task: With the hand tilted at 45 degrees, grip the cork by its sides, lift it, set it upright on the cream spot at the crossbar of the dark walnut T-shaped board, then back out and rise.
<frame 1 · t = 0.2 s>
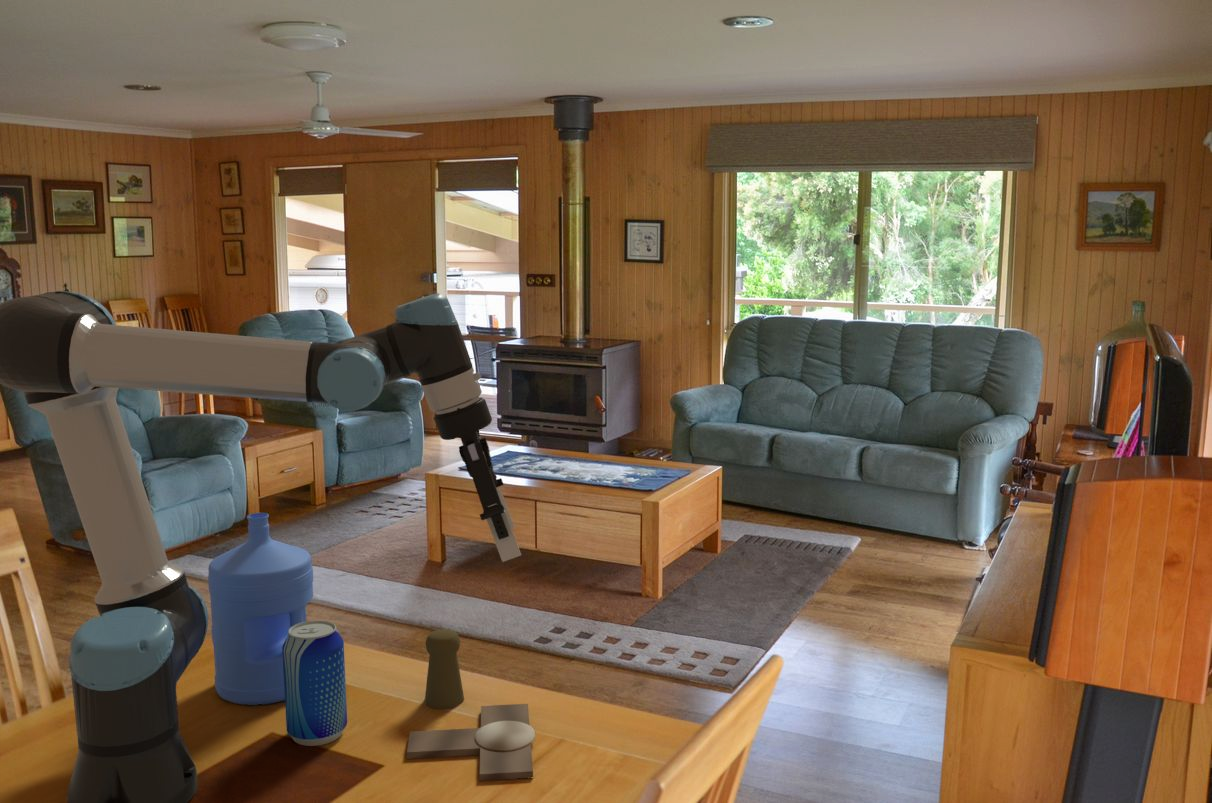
hand: (508, 544, 148), 28 cm above the table, tool tilted 20°, fingers open, 13 cm apart
walnut T board: (505, 743, 147), on the table
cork: (444, 701, 161), on the table
water jug: (267, 686, 166), on the table
beer can: (317, 735, 150), on the table
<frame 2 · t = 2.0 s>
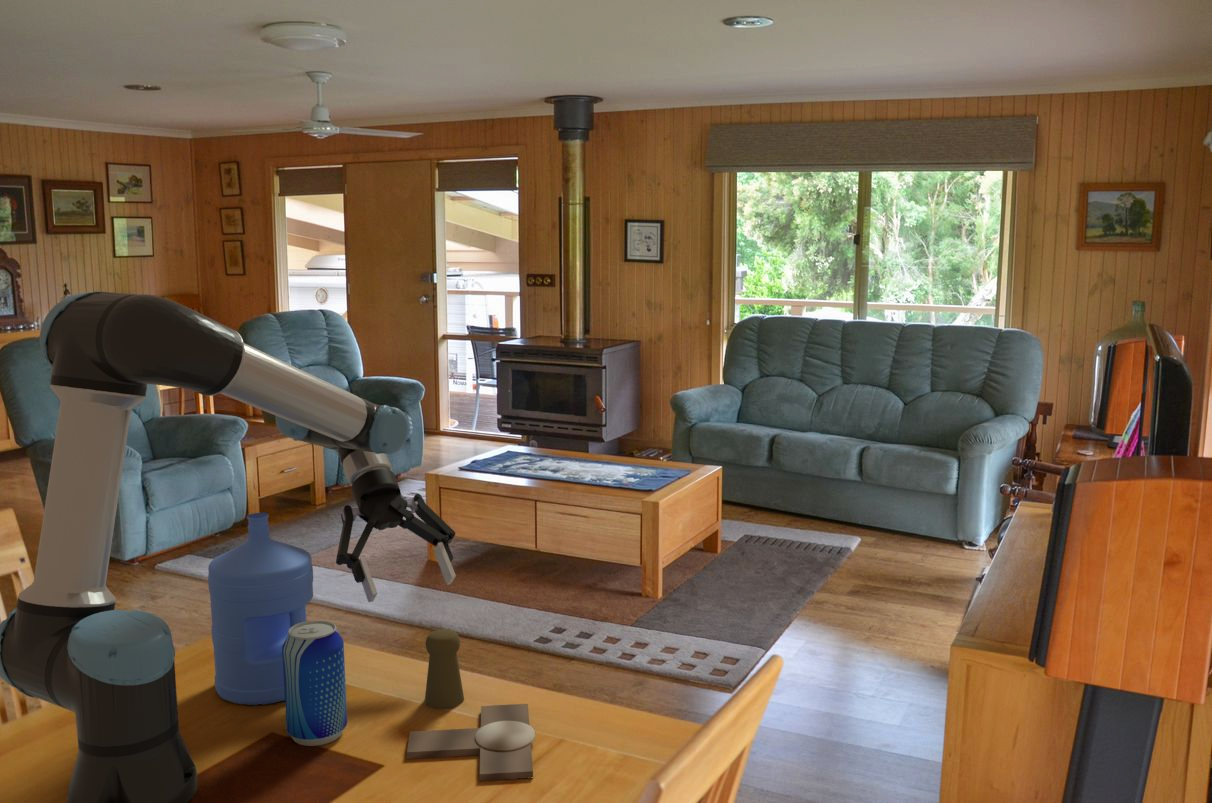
hand: (413, 589, 167), 15 cm above the table, tool tilted 45°, fingers open, 13 cm apart
nothing on the table moved.
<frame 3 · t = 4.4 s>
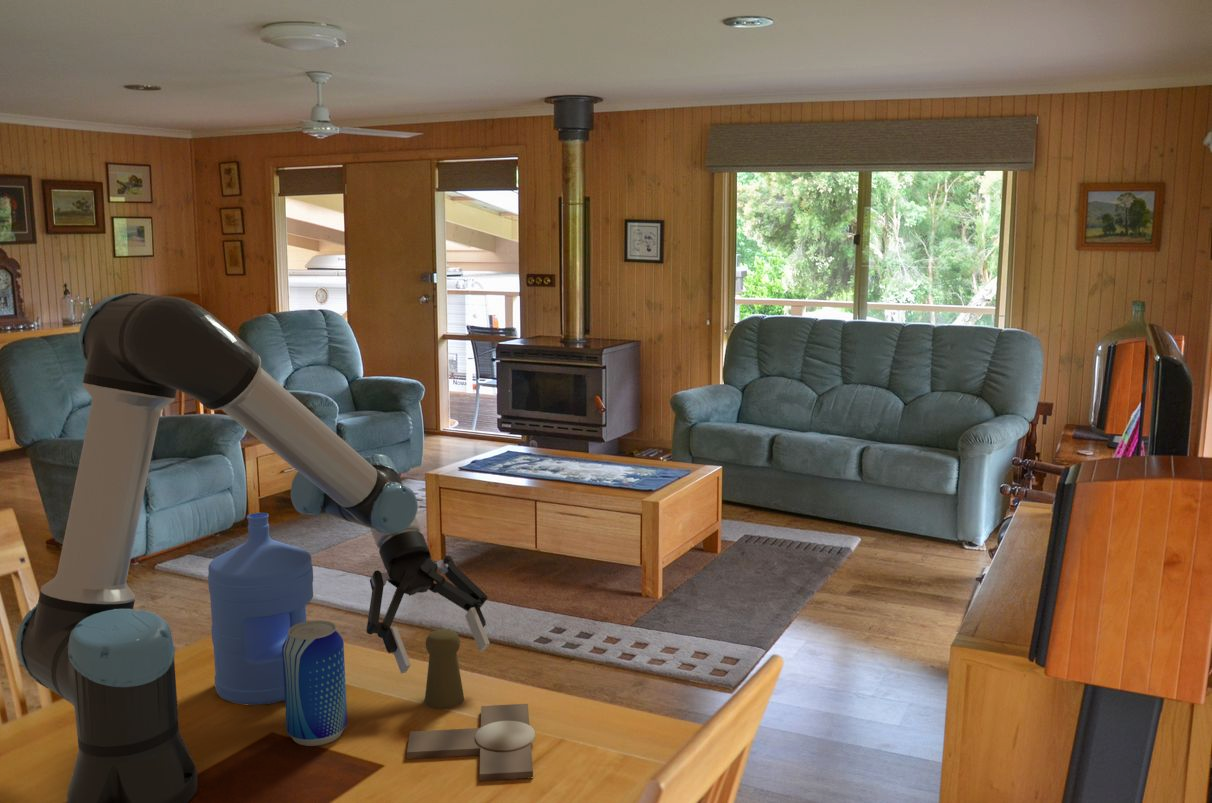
hand: (446, 658, 161), 6 cm above the table, tool tilted 45°, fingers open, 13 cm apart
nothing on the table moved.
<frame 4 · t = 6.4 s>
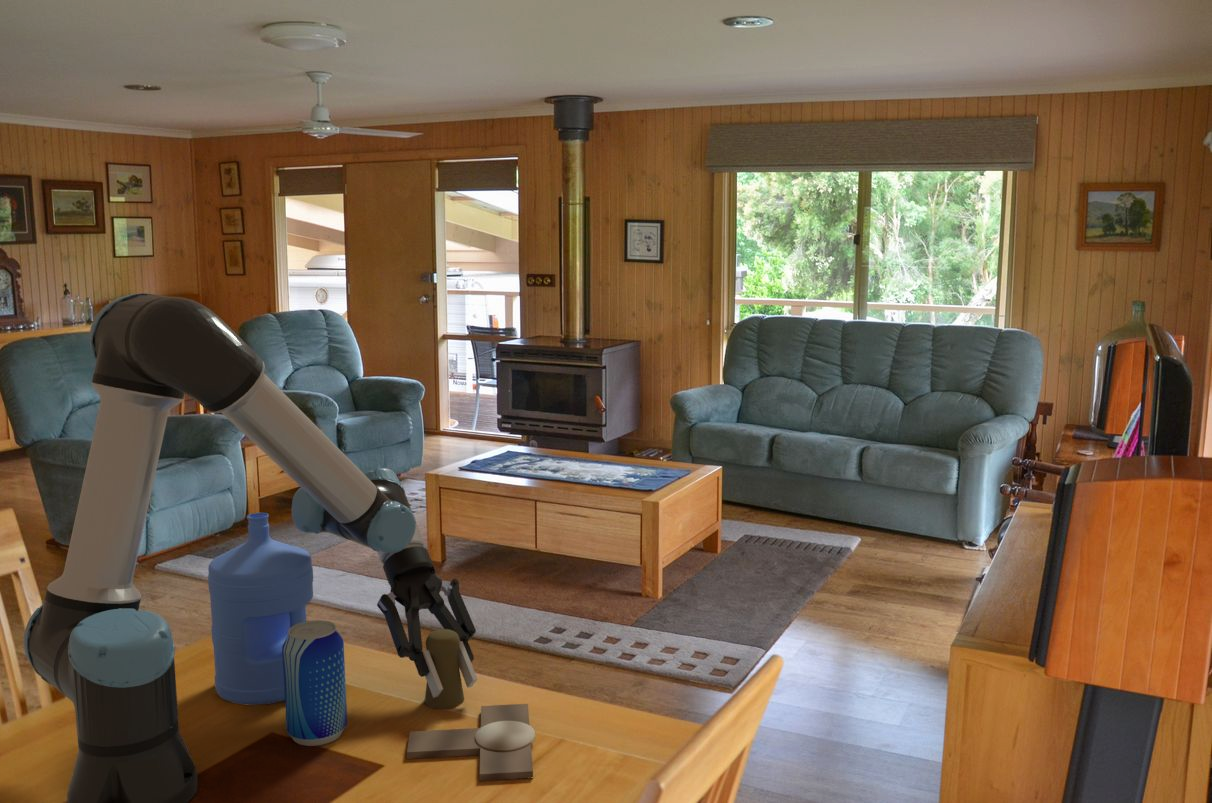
hand: (455, 688, 157), 3 cm above the table, tool tilted 45°, fingers closed on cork, 5 cm apart
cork: (444, 701, 161), on the table, touching gripper
everything else where it was.
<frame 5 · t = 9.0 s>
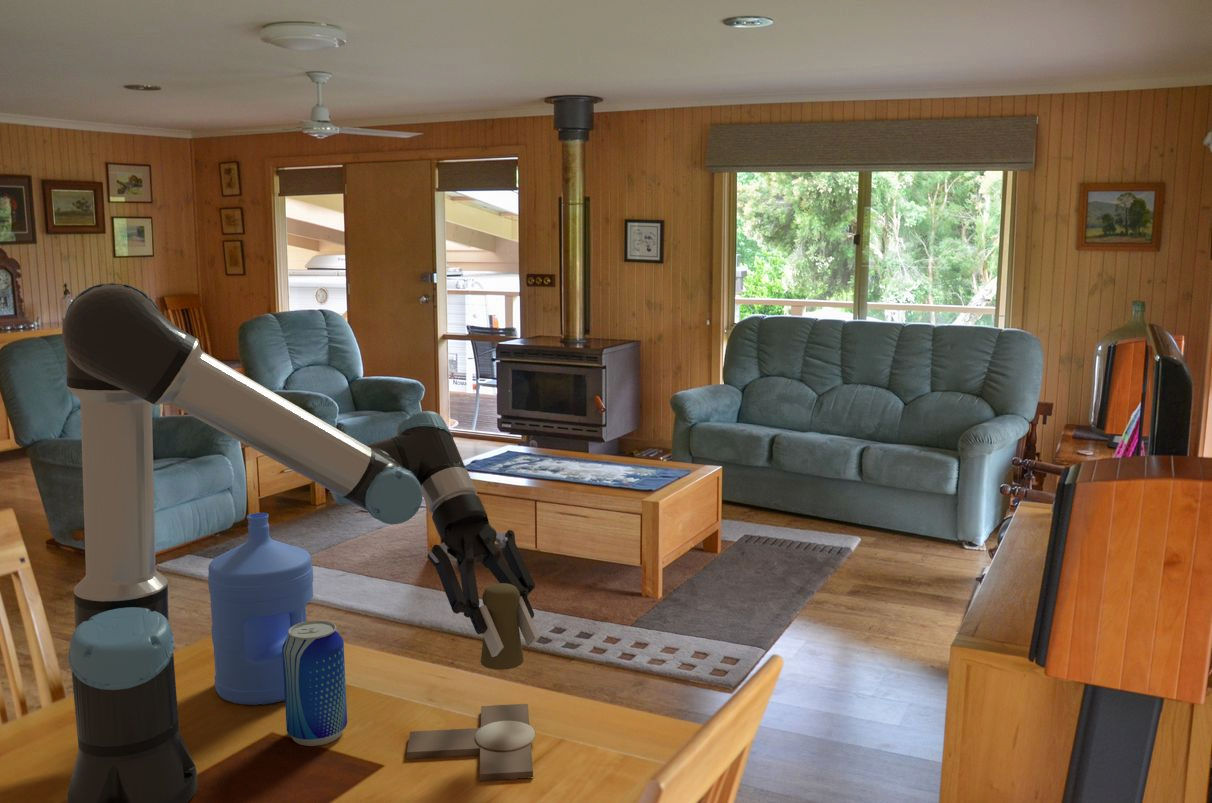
hand: (516, 646, 143), 15 cm above the table, tool tilted 45°, fingers closed on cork, 5 cm apart
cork: (502, 662, 147), point 12 cm above the table, touching gripper
everything else where it was.
when the fingers open (6 cm above the table, at t = 11.5 s): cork drops 2 cm, resting on walnut T board.
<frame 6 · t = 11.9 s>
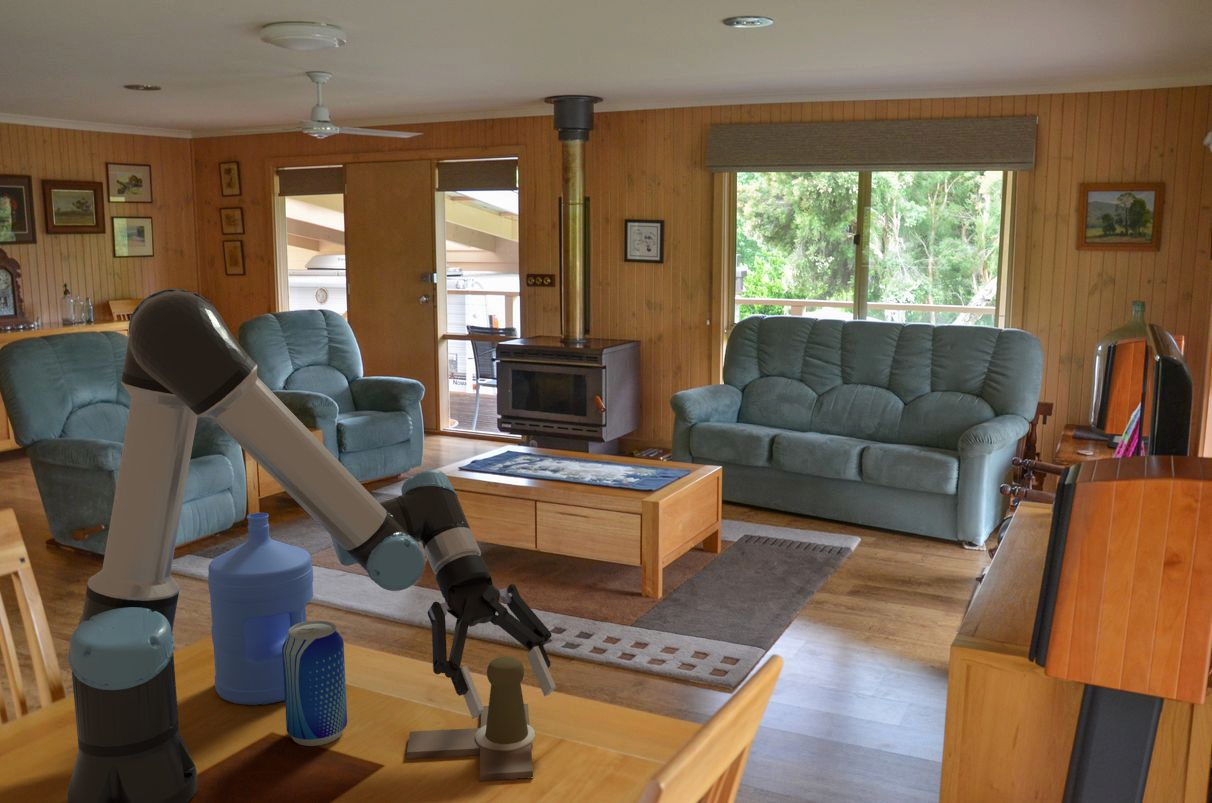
hand: (515, 702, 144), 7 cm above the table, tool tilted 45°, fingers open, 11 cm apart
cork: (506, 734, 147), point 1 cm above the table, touching walnut T board
everything else where it was.
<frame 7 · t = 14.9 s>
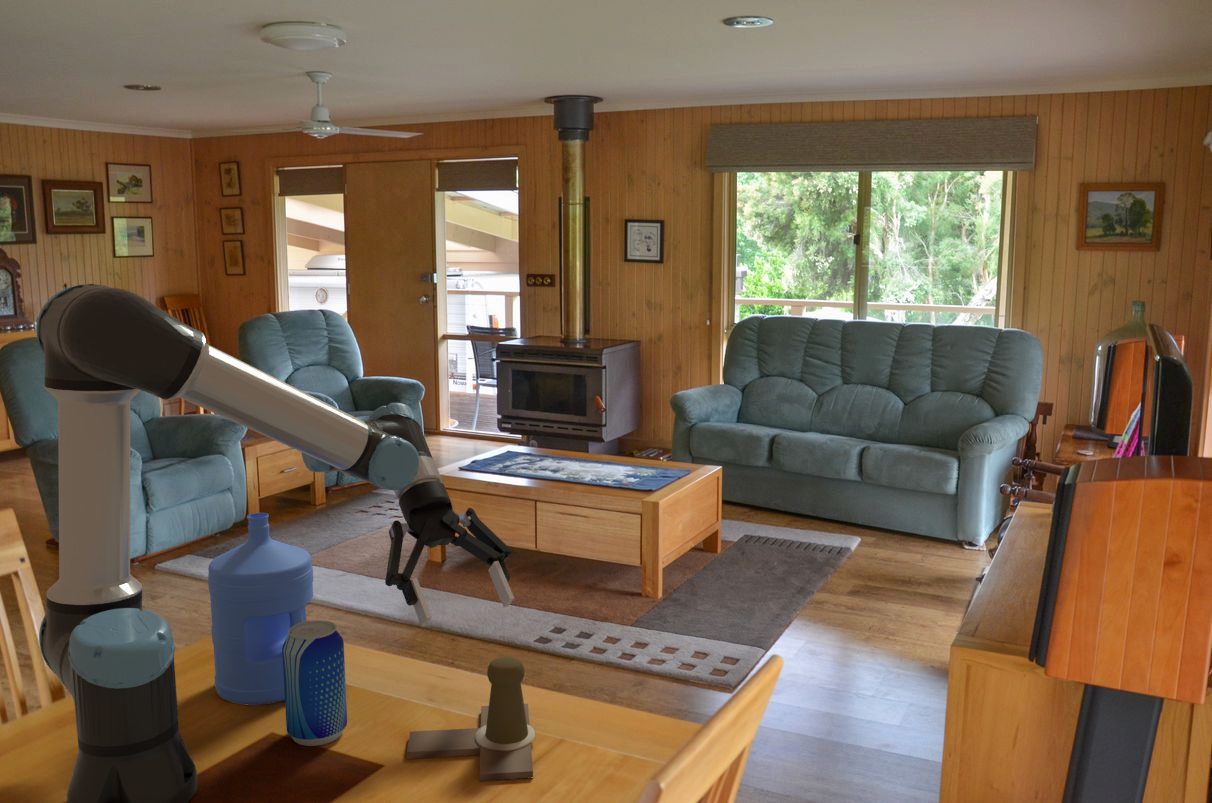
hand: (469, 612, 153), 16 cm above the table, tool tilted 45°, fingers open, 13 cm apart
nothing on the table moved.
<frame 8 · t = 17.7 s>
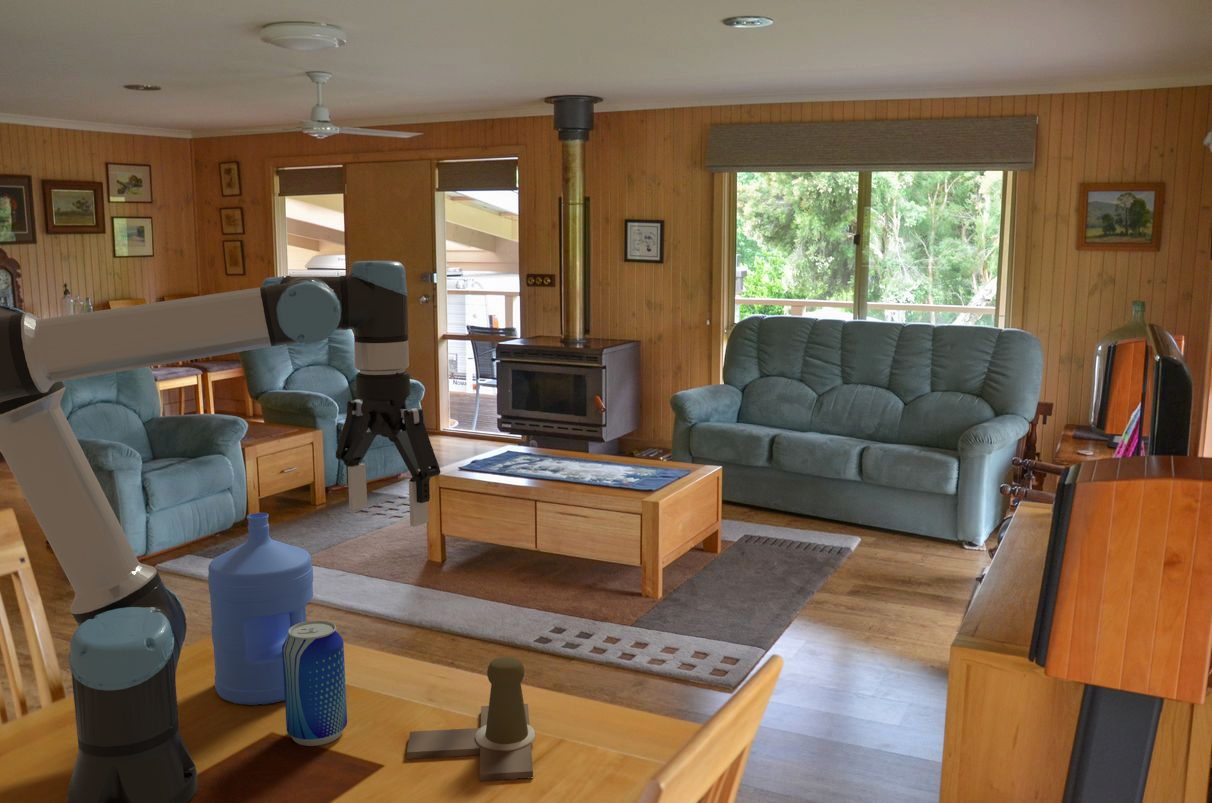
hand: (388, 516, 151), 31 cm above the table, tool pointing down, fingers open, 13 cm apart
nothing on the table moved.
at the end: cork inside the target area on the walnut T board (0.3 cm from its centre), point 1.1 cm above the walnut T board's base; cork tilted 0°; the gripper is holding nothing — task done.
